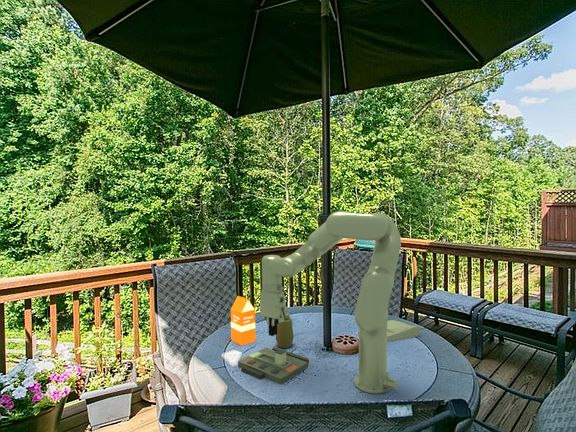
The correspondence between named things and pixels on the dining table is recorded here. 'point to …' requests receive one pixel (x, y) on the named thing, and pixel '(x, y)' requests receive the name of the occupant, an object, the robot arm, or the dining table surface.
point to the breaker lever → (280, 357)
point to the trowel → (400, 330)
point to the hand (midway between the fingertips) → (272, 334)
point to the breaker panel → (273, 365)
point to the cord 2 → (293, 355)
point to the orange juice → (242, 321)
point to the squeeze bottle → (285, 332)
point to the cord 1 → (252, 372)
